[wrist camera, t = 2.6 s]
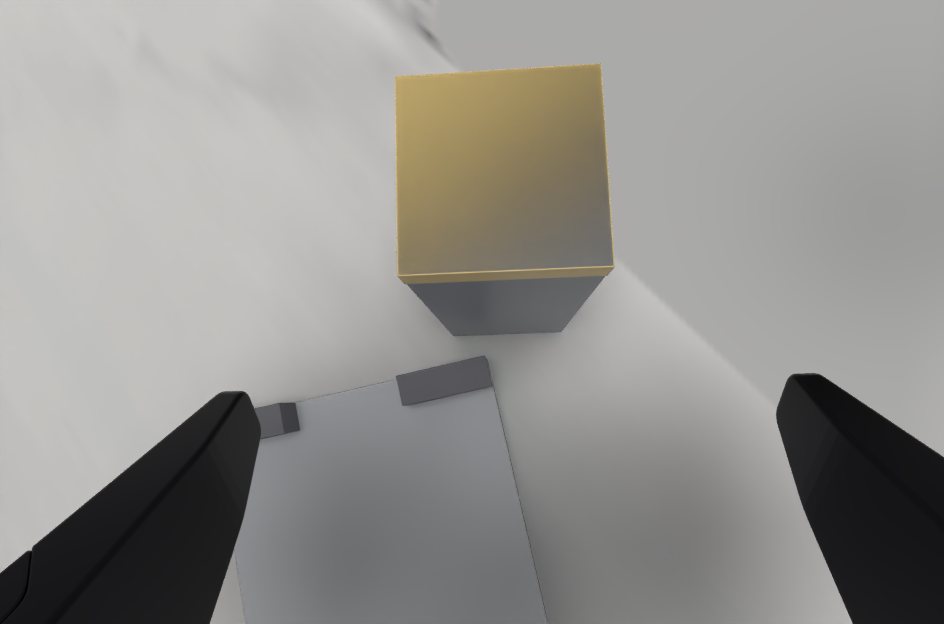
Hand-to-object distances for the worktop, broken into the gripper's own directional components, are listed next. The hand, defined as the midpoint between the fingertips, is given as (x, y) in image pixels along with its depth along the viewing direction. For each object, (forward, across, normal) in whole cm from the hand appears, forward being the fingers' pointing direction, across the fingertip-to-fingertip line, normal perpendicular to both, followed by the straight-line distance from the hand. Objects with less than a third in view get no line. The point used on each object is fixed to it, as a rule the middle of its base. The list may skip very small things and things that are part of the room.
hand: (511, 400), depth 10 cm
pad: (+5, +5, +12) cm, 13 cm away
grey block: (+11, 0, +5) cm, 12 cm away
